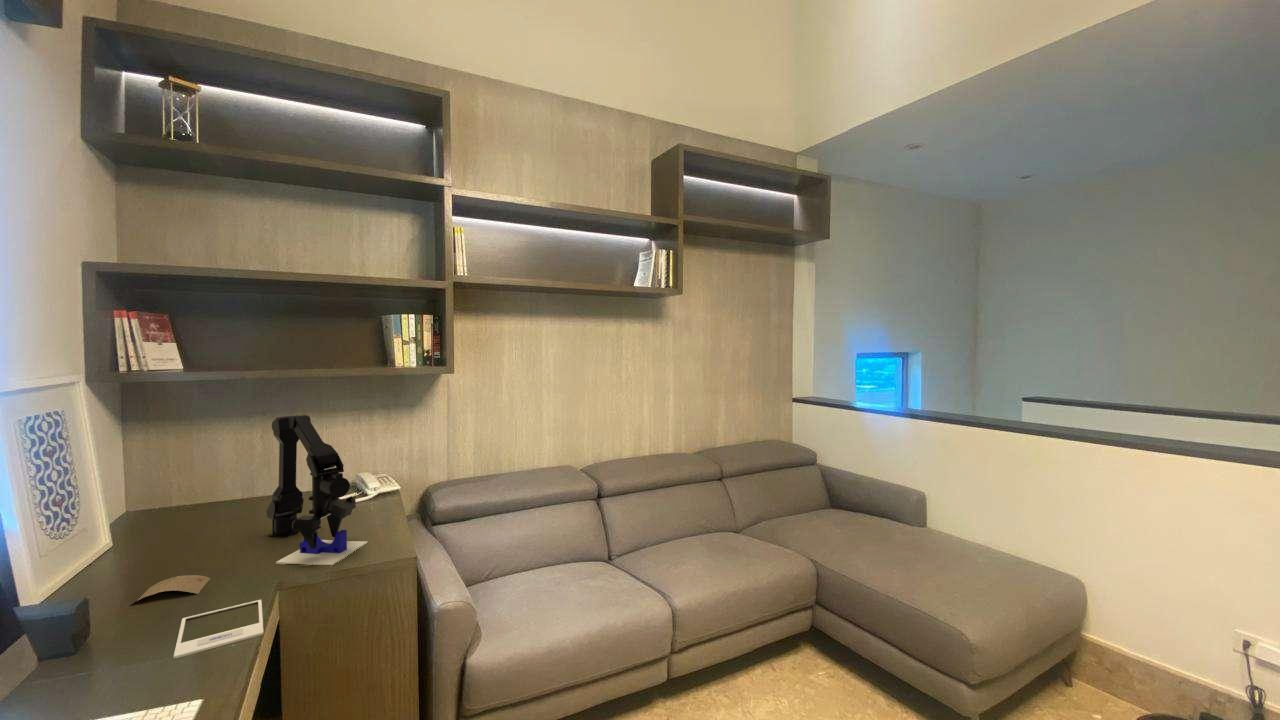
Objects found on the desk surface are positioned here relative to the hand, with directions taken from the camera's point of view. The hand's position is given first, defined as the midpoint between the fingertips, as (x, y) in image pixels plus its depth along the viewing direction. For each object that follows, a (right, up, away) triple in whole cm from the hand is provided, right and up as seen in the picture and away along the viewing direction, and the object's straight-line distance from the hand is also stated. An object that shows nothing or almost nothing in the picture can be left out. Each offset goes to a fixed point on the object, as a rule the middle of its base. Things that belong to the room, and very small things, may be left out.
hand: (324, 542), depth 156 cm
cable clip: (0, -3, 0) cm, 3 cm away
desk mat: (0, -3, 0) cm, 3 cm away
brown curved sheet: (-24, -5, -24) cm, 34 cm away
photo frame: (+2, -5, -40) cm, 41 cm away
